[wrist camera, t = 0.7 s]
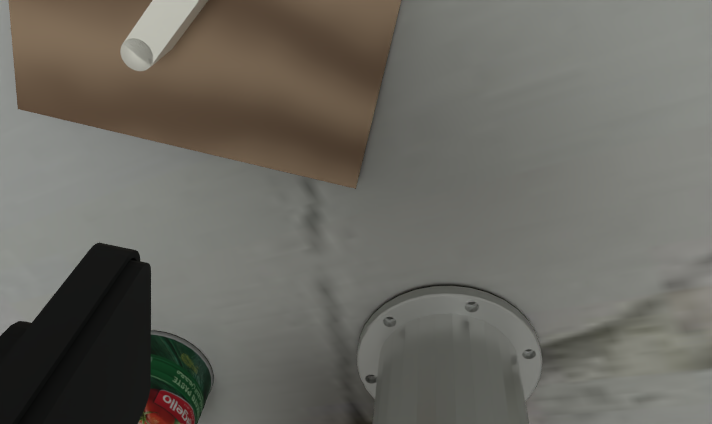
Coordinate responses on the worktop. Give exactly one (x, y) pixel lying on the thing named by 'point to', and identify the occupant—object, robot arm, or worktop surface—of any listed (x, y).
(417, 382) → the robot arm
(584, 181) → the worktop surface
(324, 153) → the dial board
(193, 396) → the canned tomato
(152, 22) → the pointer
